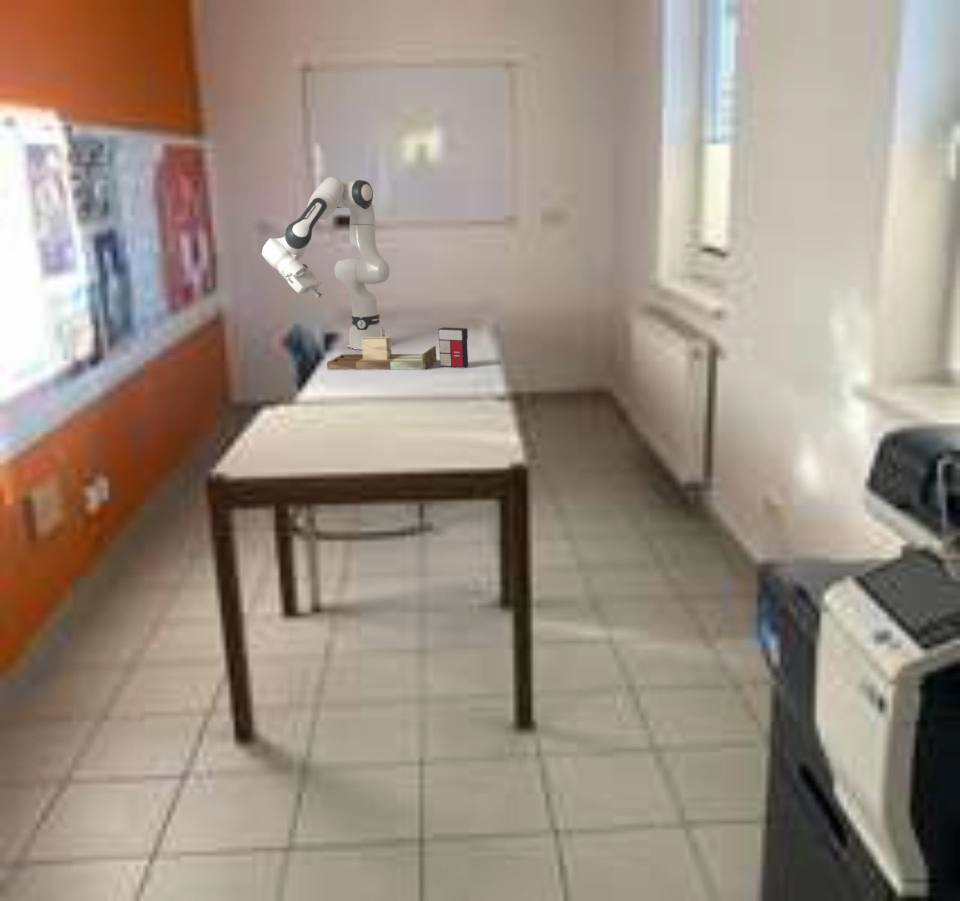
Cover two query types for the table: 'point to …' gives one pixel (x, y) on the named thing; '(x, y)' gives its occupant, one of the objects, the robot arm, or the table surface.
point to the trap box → (384, 361)
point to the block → (376, 348)
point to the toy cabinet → (453, 347)
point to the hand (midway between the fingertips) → (319, 296)
